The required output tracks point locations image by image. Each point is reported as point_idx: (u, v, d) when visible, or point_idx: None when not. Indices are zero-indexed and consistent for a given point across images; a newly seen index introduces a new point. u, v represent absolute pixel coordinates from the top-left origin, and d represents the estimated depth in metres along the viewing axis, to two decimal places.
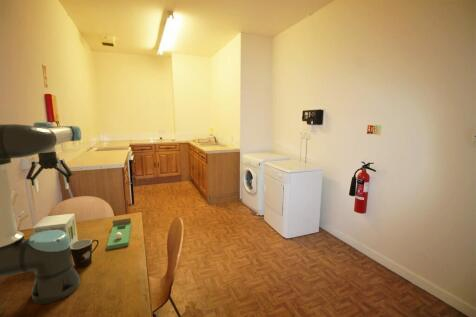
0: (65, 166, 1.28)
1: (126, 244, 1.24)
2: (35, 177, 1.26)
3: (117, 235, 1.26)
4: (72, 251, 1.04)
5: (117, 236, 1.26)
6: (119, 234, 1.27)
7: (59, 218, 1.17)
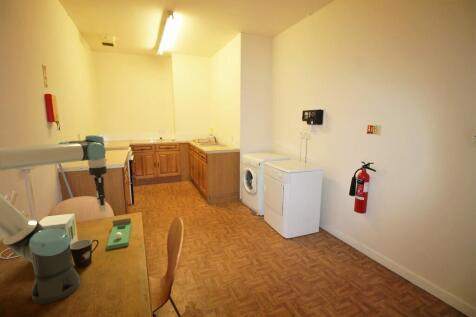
0: (97, 186, 1.12)
1: (126, 244, 1.24)
2: None
3: (117, 235, 1.26)
4: (72, 251, 1.04)
5: (117, 236, 1.26)
6: (119, 234, 1.27)
7: (59, 218, 1.17)
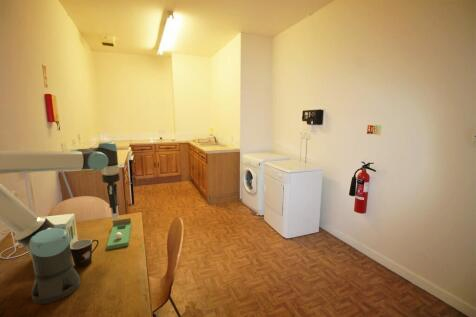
0: None
1: (126, 244, 1.24)
2: (115, 202, 1.20)
3: (117, 235, 1.26)
4: (72, 251, 1.04)
5: (117, 236, 1.26)
6: (119, 234, 1.27)
7: (59, 218, 1.17)
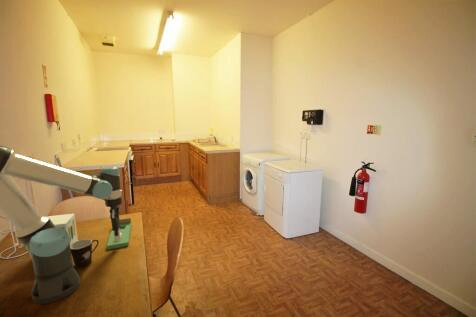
0: (111, 221, 1.16)
1: (126, 244, 1.24)
2: (118, 225, 1.22)
3: None
4: (72, 251, 1.04)
5: None
6: None
7: (59, 218, 1.17)
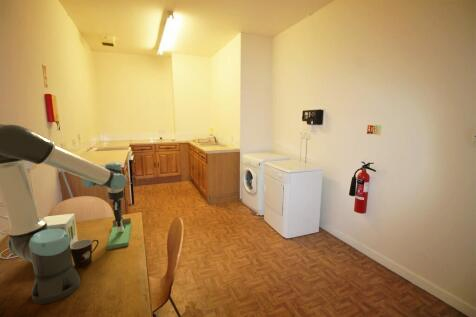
0: (114, 213, 1.26)
1: (126, 244, 1.24)
2: None
3: None
4: (72, 251, 1.04)
5: None
6: (122, 231, 1.35)
7: (59, 218, 1.17)
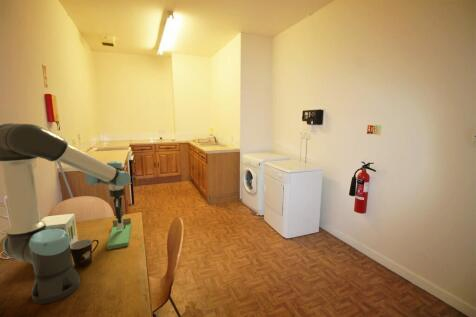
0: (115, 210, 1.30)
1: (126, 244, 1.24)
2: (121, 213, 1.37)
3: None
4: (72, 251, 1.04)
5: None
6: None
7: (59, 218, 1.17)
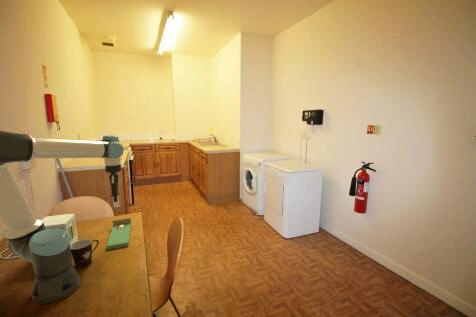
0: None
1: (126, 244, 1.24)
2: (117, 192, 1.29)
3: None
4: (72, 251, 1.04)
5: None
6: None
7: (59, 218, 1.17)
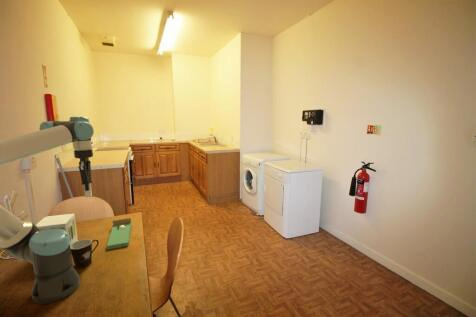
0: (80, 173, 1.10)
1: (126, 244, 1.24)
2: None
3: None
4: (72, 251, 1.04)
5: None
6: (123, 225, 1.41)
7: (59, 218, 1.17)
